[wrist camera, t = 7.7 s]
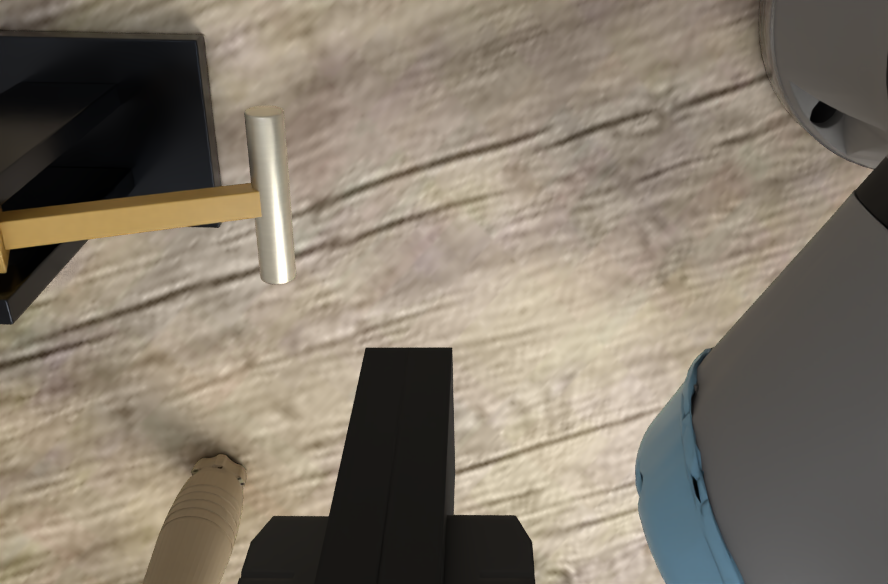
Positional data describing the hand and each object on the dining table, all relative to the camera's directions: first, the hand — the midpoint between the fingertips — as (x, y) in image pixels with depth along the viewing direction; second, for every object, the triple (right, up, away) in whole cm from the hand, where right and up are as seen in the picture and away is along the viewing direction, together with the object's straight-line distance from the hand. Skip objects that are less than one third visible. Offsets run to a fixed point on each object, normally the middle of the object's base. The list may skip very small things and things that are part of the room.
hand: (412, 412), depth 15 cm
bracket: (-16, +10, +25) cm, 32 cm away
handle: (-13, -8, +35) cm, 39 cm away
